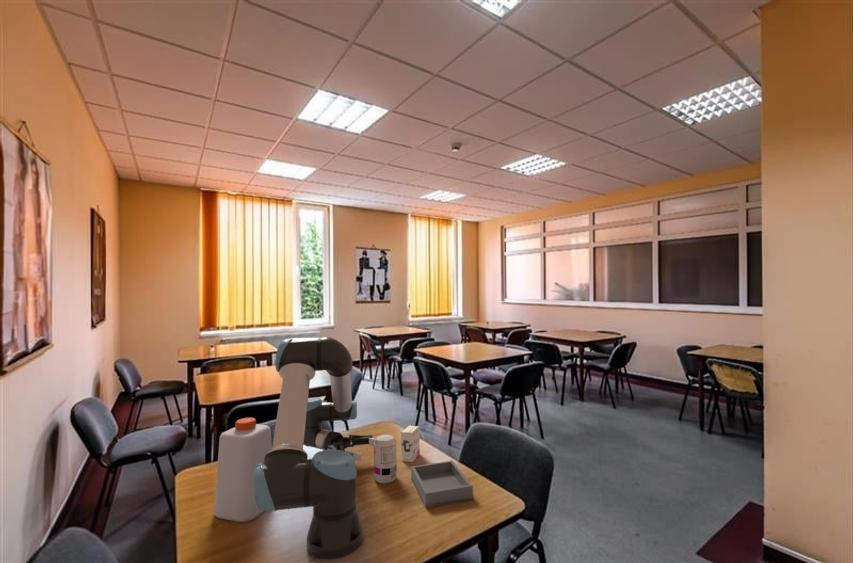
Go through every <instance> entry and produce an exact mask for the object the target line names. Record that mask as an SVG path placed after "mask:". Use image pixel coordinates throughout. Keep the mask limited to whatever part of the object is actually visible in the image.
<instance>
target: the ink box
mask: <svg viewBox="0 0 853 563" xmlns="http://www.w3.org/2000/svg"><path fill="white" fill-rule="evenodd" d="M400 434H401V436H400V437H401V442H400V443H401V461H402V462H406V463H414V461H415V460H416V459H417V458H418V457H419V455H420V454H421V453H420V451H421V449H420V445H421V444H420V426H418V425H408V426H407V427H406V428H405V429H403V430H402V431H401V432H400Z"/></svg>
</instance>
